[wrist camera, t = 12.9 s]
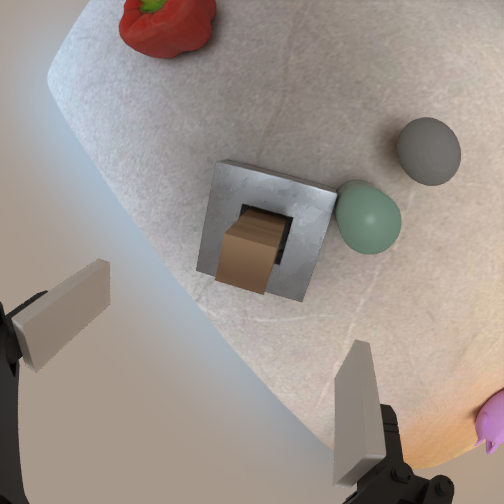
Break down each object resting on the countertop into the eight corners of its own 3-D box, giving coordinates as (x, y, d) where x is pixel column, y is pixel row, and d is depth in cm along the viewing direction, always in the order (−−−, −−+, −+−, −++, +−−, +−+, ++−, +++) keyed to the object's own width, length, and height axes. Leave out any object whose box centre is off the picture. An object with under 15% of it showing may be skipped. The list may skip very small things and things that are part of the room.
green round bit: (340, 173, 31) (350, 182, 23) (387, 189, 30) (409, 202, 23) (326, 221, 33) (330, 244, 26) (372, 235, 32) (388, 261, 25)
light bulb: (430, 177, 29) (472, 192, 20) (381, 175, 30) (408, 189, 21) (429, 124, 27) (471, 119, 18) (379, 120, 28) (406, 111, 19)
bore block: (227, 159, 33) (216, 161, 29) (334, 188, 31) (337, 194, 28) (207, 257, 37) (196, 270, 33) (303, 285, 36) (302, 302, 32)
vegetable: (130, 39, 29) (81, 19, 20) (183, -20, 25) (147, -55, 16) (185, 81, 30) (141, 63, 21) (246, 18, 26) (222, -22, 17)
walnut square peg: (253, 202, 34) (224, 233, 23) (288, 212, 33) (276, 248, 22) (245, 236, 35) (215, 280, 24) (279, 245, 35) (263, 294, 24)
